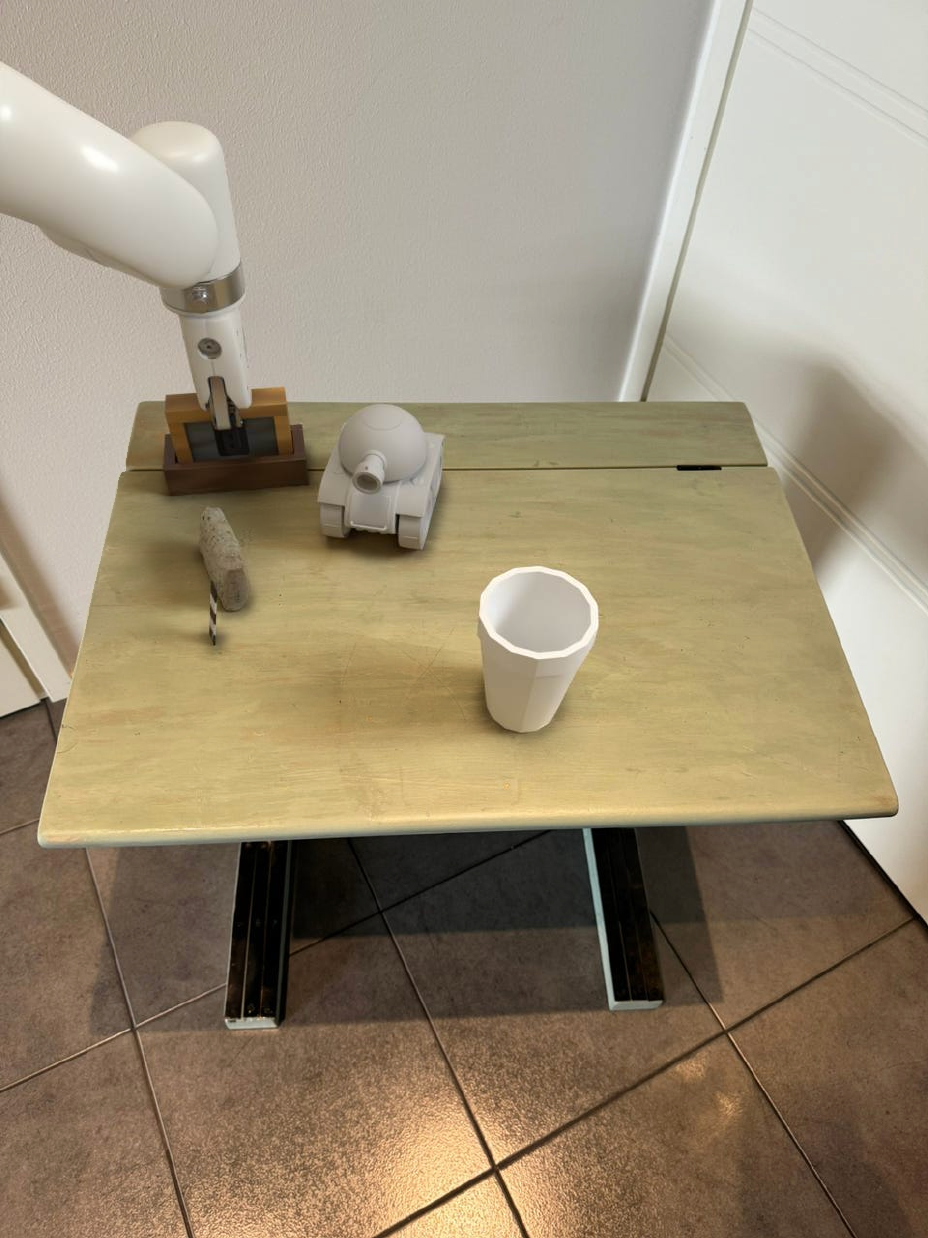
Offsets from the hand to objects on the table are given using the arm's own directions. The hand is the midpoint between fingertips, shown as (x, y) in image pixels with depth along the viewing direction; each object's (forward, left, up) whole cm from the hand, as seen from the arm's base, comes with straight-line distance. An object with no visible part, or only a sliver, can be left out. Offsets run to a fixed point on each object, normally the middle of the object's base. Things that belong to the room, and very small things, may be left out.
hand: (234, 441), depth 89 cm
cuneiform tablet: (-2, -18, -4) cm, 18 cm away
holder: (0, 0, -4) cm, 4 cm away
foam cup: (+24, -35, -4) cm, 42 cm away
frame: (0, 0, -4) cm, 4 cm away
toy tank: (+15, -9, -4) cm, 18 cm away
